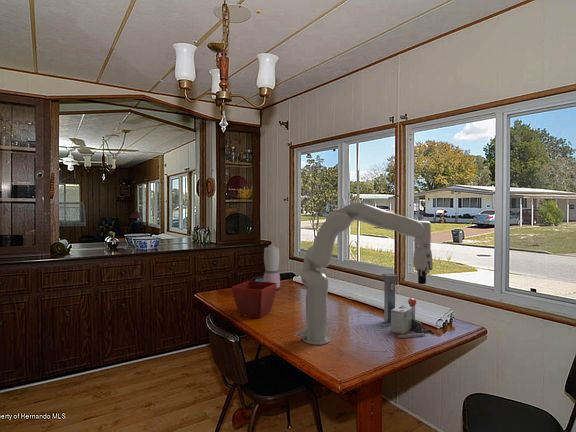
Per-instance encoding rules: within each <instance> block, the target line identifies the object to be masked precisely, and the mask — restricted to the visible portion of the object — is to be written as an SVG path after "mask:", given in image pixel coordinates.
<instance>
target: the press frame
mask: <svg viewBox="0 0 576 432" xmlns="http://www.w3.org/2000/svg"><path fill="white" fill-rule="evenodd" d="M381 280H382V281H383V282H384V283H383V284H384V286H383V287H384V288H383V289H384V290H383V292H384V293H383V294H384V295H383V296H384V298H383V299H384V301H383V302H384V306H383V307H384V309H383V311H384V312H383V314H384V316H383V319H384V320H383V322H385V323H381V327H383V328H384V327H391V310H392V309H394V308H396V283H397V282H398V281H399V276H398V275H397V274H394V273H381ZM422 326H423V323H422V322H420V321H418V320H416V318H415V319H413V318H412V329H411V330H413V329H414V330H413V331H415V332H417V333H410V334H409V333H408V334H406V333H405V334H397V338H398V339H407V338H419V337H421V336H422V337H425V335H424V333H422V330H423V328H422Z"/></svg>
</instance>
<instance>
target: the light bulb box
mask: <svg viewBox="0 0 576 432" xmlns="http://www.w3.org/2000/svg"><path fill="white" fill-rule="evenodd" d="M410 330H413V329H412V307H409V306H406V305H400V304H399V305H398V306H395V308H394V309H392V310H391V326H390V332H394V333H398V334H400V335H405V334H406V333H407V332H409V331H410Z"/></svg>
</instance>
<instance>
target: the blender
mask: <svg viewBox="0 0 576 432" xmlns="http://www.w3.org/2000/svg"><path fill="white" fill-rule="evenodd" d="M263 262H264V269H265V270H264V273H263V282H272V283H277V285H276V290H278V289H281V276H280V271H279V266H280V248H279V247H276V245H268V246H267V247H264V251H263Z"/></svg>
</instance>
